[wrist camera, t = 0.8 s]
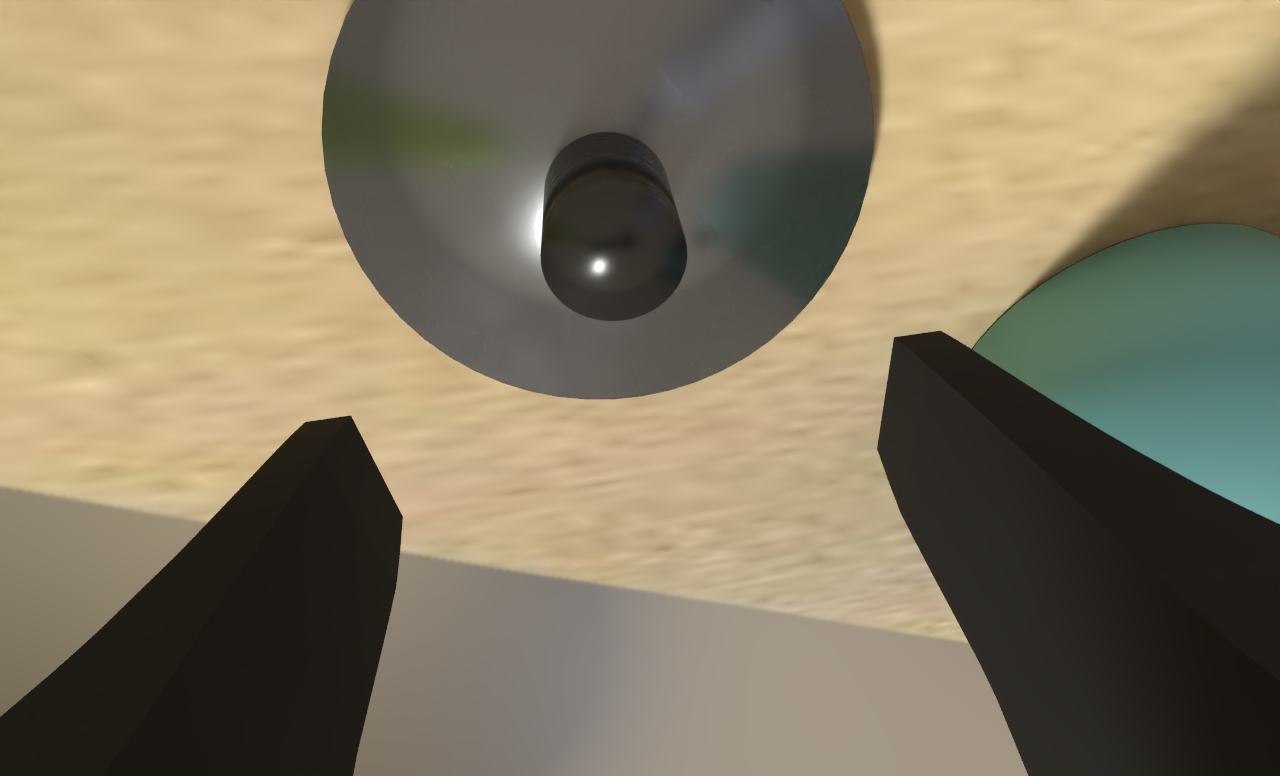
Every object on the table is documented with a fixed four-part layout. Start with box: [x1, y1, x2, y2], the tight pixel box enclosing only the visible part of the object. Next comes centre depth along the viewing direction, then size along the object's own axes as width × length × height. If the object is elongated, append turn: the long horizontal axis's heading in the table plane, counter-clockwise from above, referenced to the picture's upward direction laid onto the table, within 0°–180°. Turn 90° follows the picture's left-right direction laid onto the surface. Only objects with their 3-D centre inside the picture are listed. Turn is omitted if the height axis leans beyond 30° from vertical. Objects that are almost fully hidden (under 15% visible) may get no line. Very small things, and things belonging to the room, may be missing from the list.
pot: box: [972, 223, 1280, 524], centre depth 19 cm, size 14×11×6 cm
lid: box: [322, 0, 873, 399], centre depth 15 cm, size 12×12×4 cm
